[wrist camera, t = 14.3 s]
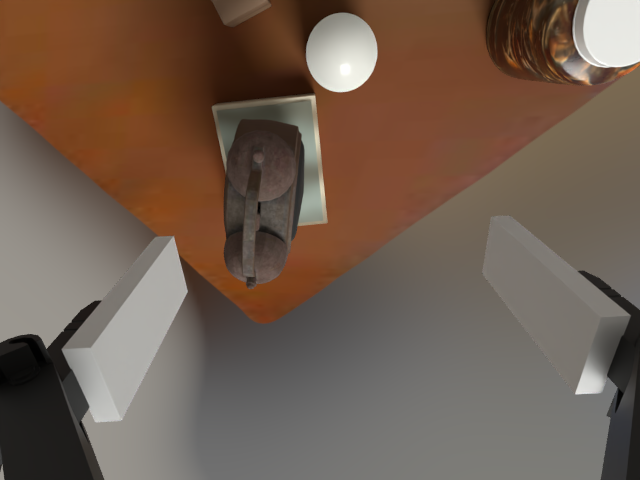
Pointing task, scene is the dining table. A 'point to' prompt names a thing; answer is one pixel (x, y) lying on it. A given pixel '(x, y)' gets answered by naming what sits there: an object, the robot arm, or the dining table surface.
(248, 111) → the picture frame
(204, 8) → the dining table surface
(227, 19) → the walnut block
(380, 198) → the dining table surface
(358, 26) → the dome-top cylinder
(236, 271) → the alarm clock
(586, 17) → the jar
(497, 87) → the dining table surface
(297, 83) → the dining table surface
